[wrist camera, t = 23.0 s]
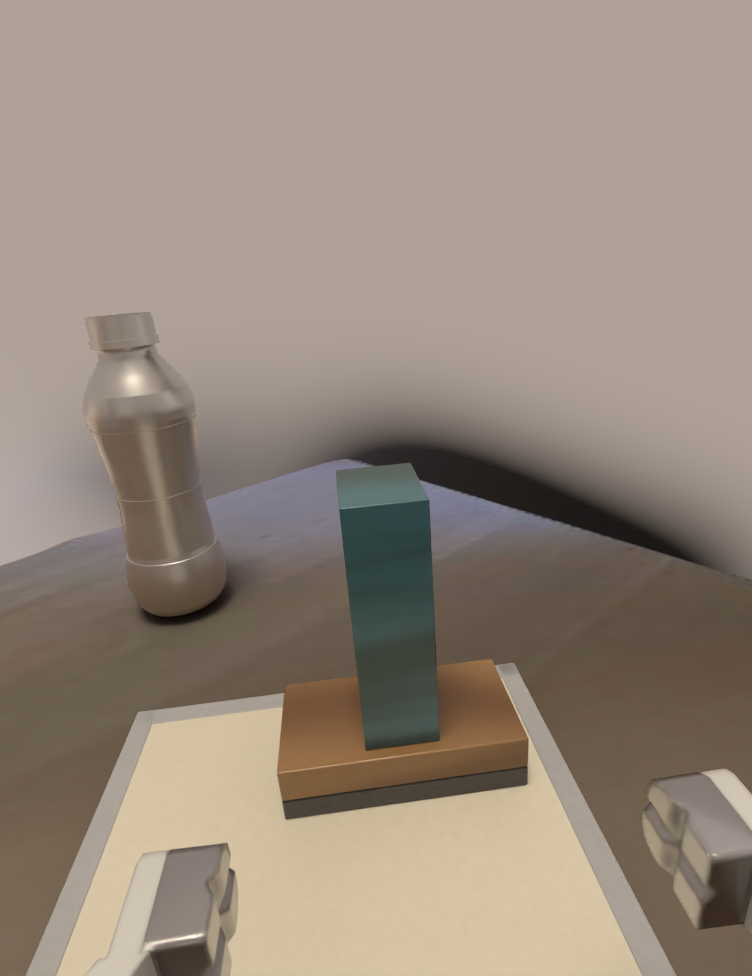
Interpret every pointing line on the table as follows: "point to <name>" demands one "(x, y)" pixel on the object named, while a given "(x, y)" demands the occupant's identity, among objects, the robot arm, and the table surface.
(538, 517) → the table surface
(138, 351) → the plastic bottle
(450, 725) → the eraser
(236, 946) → the whiteboard
